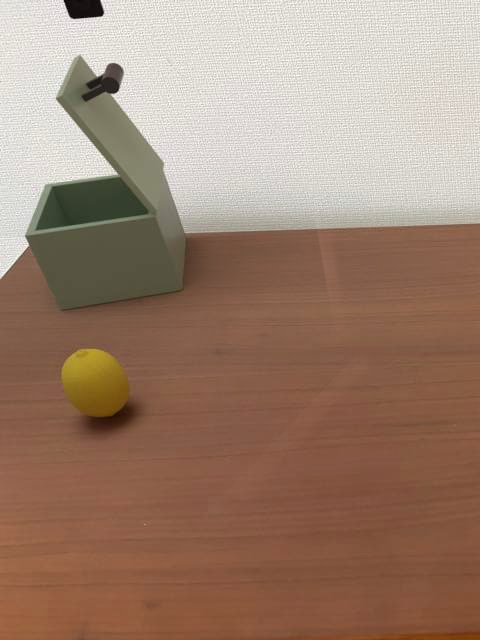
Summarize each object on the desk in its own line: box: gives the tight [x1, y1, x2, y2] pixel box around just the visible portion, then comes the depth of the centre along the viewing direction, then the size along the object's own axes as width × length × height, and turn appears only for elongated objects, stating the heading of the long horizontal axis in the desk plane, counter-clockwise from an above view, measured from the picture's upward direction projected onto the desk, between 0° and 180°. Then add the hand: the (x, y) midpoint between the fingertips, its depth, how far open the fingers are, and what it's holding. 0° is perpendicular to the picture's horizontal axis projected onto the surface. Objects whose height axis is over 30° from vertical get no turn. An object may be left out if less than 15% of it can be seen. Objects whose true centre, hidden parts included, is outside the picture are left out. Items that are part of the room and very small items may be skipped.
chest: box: [24, 169, 187, 311], centre depth 100 cm, size 14×14×10 cm
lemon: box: [60, 348, 131, 418], centre depth 80 cm, size 6×6×8 cm
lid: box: [55, 54, 165, 214], centre depth 93 cm, size 15×14×5 cm
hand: (93, 4), depth 85 cm, fingers open, 9 cm apart
